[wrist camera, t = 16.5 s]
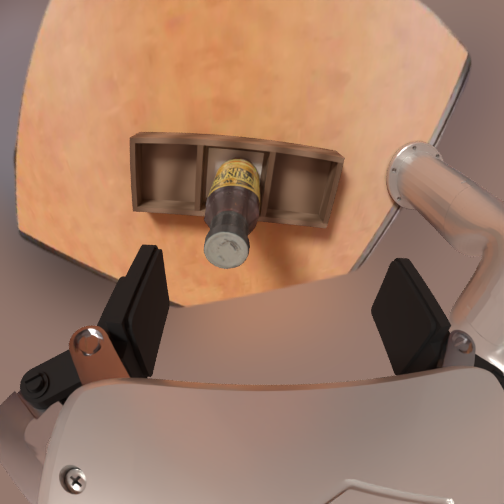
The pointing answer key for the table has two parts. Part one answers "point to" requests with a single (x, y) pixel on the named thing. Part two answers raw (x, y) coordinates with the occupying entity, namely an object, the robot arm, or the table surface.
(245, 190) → the sauce bottle
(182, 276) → the table surface
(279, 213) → the walnut rack
